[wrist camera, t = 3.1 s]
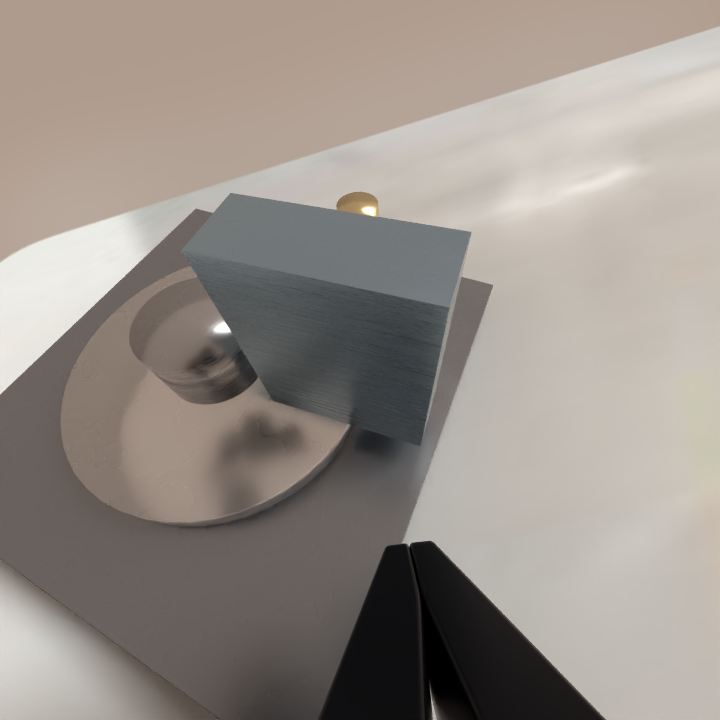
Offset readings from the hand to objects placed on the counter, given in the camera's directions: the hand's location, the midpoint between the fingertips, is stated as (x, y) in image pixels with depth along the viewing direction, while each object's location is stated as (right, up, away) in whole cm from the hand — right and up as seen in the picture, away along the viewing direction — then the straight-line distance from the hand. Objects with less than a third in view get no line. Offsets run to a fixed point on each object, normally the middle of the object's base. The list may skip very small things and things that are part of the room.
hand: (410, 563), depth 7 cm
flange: (-5, +3, +9) cm, 10 cm away
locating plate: (-6, +2, +10) cm, 12 cm away
